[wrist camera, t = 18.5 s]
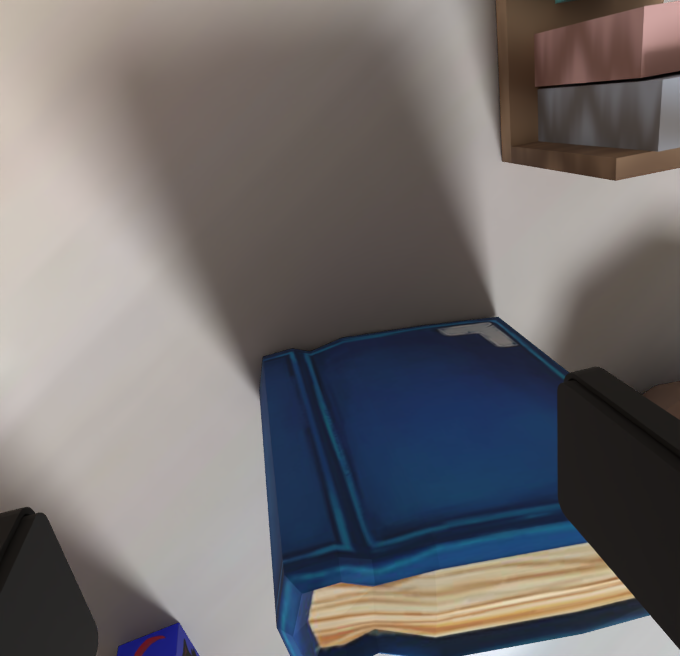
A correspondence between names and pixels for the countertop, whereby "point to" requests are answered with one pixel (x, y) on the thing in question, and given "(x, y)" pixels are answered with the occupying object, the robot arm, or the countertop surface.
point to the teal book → (559, 0)
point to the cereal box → (160, 644)
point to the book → (424, 497)
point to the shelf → (590, 85)
